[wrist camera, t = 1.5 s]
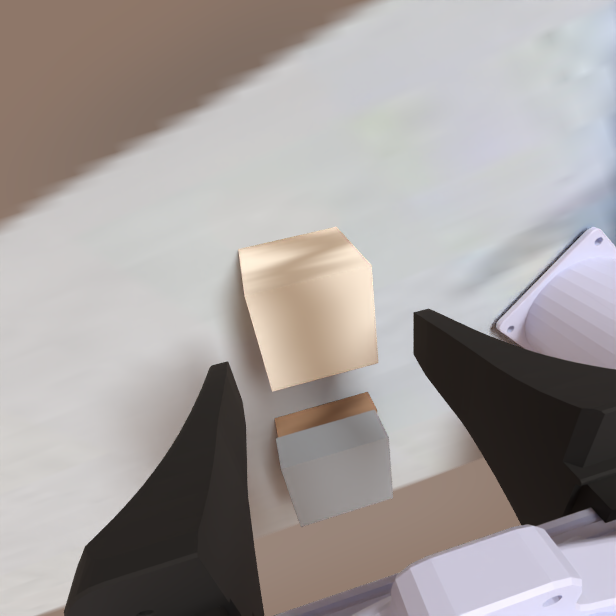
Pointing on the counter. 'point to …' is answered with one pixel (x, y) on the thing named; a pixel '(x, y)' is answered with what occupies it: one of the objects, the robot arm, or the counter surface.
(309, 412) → the tower base block
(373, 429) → the tower top block
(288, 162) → the counter surface
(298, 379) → the ash cube
